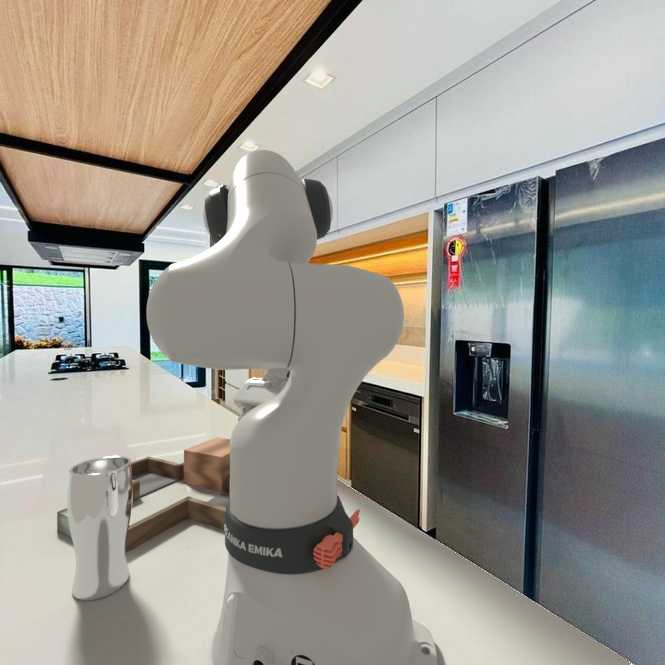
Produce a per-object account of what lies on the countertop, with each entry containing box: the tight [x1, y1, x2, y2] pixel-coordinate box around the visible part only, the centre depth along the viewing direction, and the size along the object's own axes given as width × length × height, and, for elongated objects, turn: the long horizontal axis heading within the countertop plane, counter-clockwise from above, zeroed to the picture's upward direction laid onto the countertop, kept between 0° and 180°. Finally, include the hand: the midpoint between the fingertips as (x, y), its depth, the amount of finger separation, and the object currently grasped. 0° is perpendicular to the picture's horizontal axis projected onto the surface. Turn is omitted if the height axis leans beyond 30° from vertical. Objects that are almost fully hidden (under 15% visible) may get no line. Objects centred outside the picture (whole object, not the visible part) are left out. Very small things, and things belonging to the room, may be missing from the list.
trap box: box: [56, 456, 230, 553], centre depth 70 cm, size 35×33×3 cm
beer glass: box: [66, 455, 134, 601], centre depth 46 cm, size 7×7×15 cm
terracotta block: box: [183, 436, 231, 492], centre depth 79 cm, size 10×10×7 cm
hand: (255, 424), depth 90 cm, fingers open, 8 cm apart
